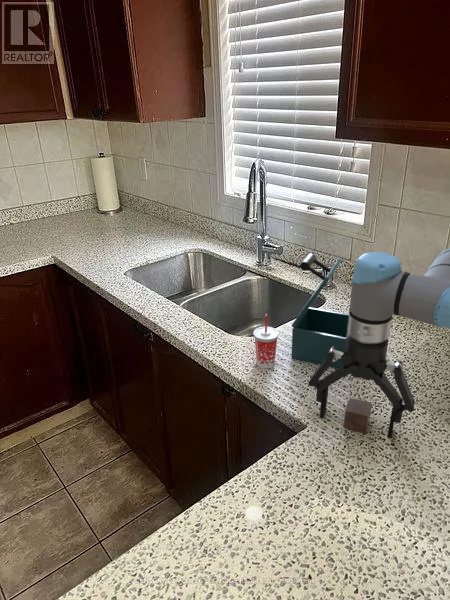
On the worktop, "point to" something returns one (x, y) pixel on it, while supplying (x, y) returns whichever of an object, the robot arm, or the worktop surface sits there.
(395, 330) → the worktop surface
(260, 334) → the beverage cup
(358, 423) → the block
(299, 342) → the teal hinged box
